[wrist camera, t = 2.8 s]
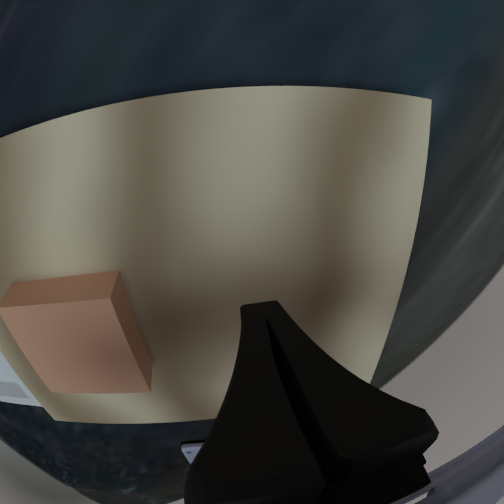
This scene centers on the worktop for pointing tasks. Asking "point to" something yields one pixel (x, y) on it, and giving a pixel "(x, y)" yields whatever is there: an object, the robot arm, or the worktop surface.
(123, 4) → the worktop surface
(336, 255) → the chopping board
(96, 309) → the terracotta tile
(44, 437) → the worktop surface
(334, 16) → the worktop surface
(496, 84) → the worktop surface
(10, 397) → the tray
